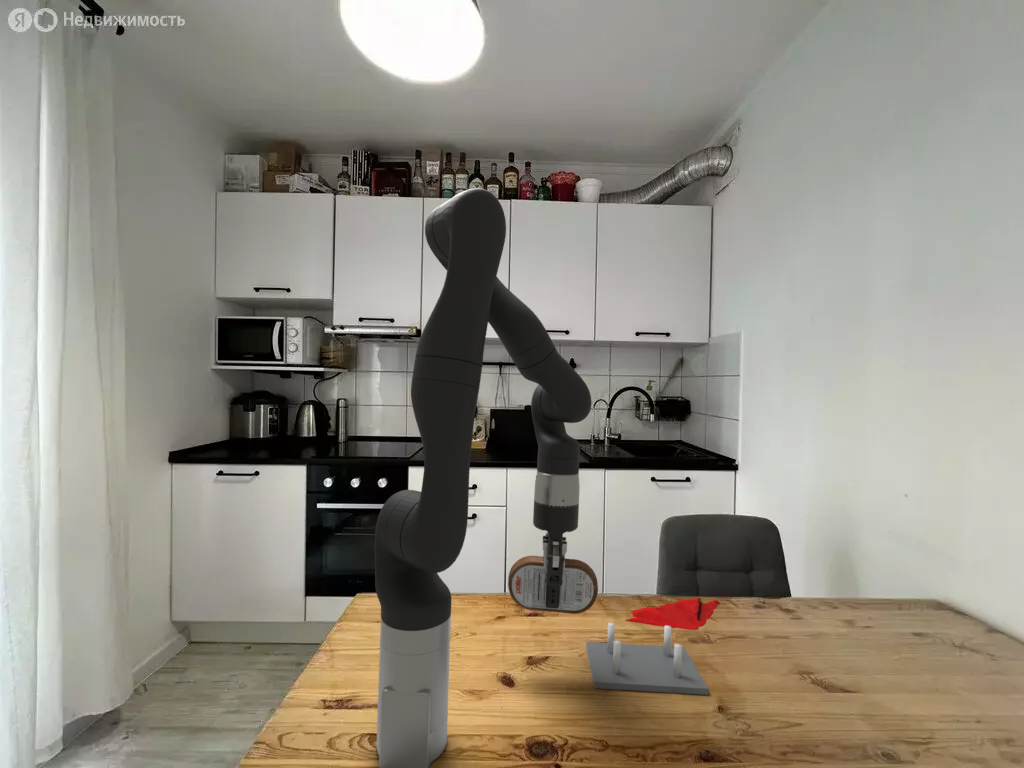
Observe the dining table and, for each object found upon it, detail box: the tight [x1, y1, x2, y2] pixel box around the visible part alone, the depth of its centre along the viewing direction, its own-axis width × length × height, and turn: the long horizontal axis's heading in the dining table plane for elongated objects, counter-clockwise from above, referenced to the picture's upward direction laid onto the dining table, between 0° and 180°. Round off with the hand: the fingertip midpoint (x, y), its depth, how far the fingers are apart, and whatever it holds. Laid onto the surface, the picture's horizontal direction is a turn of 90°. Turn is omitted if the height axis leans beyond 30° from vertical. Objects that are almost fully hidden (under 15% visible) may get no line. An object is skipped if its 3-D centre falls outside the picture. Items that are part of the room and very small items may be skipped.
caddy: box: [585, 621, 709, 696], centre depth 82 cm, size 12×18×6 cm, turn 87°
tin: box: [507, 555, 599, 615], centre depth 79 cm, size 15×3×8 cm, turn 85°
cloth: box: [625, 597, 720, 631], centre depth 103 cm, size 26×14×2 cm, turn 100°
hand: (551, 602), depth 79 cm, fingers closed on tin, 2 cm apart
